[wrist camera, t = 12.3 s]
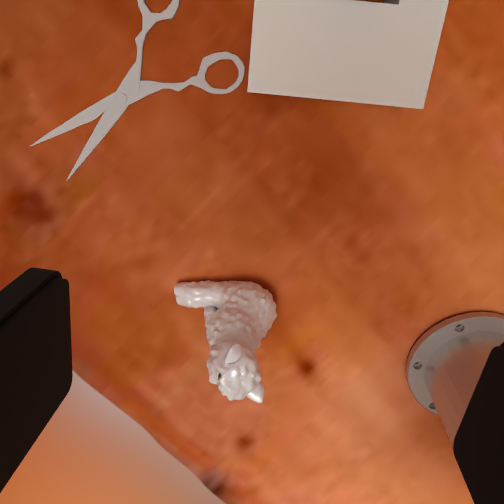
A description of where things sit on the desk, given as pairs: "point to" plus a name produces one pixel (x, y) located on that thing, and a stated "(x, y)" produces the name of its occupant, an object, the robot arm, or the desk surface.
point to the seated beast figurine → (232, 331)
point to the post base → (346, 49)
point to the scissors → (139, 86)
